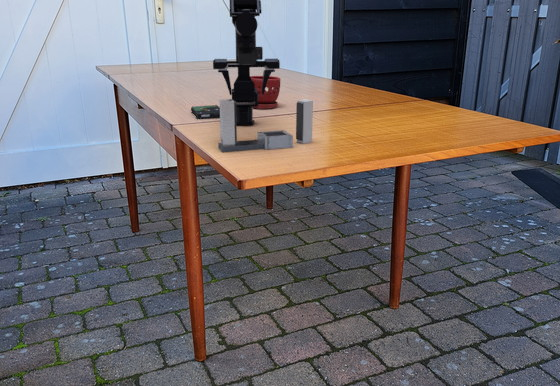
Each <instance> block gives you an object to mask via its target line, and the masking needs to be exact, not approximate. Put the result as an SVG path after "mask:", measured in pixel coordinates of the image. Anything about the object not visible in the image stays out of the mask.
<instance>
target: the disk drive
mask: <svg viewBox="0 0 560 386" xmlns="http://www.w3.org/2000/svg"><path fill="white" fill-rule="evenodd" d="M191 111H192V112H191ZM190 112H191V114H192V113H193V114H194V115H195V116H196V117H195V116H194V115H193V114H192V115H193V116H194V117H195V119H197V120H198V119H199V120H211V119H212V120H213V119H215V120H216V119H220V106H218V105H217V104H215V105H200V106H191V107H190Z"/></svg>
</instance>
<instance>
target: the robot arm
mask: <svg viewBox="0 0 560 386" xmlns="http://www.w3.org/2000/svg"><path fill="white" fill-rule="evenodd" d="M260 14H262V1H261V0H229V18H231V23H232V25H233V26H234V28H235V31H234V32H235V60H228V59H227V58H214V59H213V60H212V68H213V70H217V73H221V75H222V76H223V78H224V81H225V83H226V86H227V89H228V92H229V95H230V96H231V99H232V100H234V101H235V102H236V126H254V123H255V120H254V117H253V114H254V113H253V109H254V108H253V107H257V106H258V97H259V93H258V92H257V89H255V84H254V82H253V81H252V79H251V77H250V76H251V75H250V74H251V71H250V70H251V69H250V68H264V70H263V74H262V76H263V82H262V95H264V91H265V90H266V88H267V87H266V84H267V81H268V79H269V76H271V74H272V73H275V72H276V70H279V69H280V68H281V66H280V64H281V63H280V62H281V61H280V60H279V58H265V59H264V60H263V57H264V56H263V53H264V52H263V50H264V49H263V46H257V37H256V36H257V33H256V31H257V30H258V21H257V18H256V17H260ZM229 68H237V77H236V79H235V80H234V82H233V88H232V84H231V79H230V73H229V70H228V69H229ZM253 101H254V103H253Z"/></svg>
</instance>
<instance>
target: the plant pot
mask: <svg viewBox="0 0 560 386" xmlns="http://www.w3.org/2000/svg"><path fill="white" fill-rule="evenodd" d="M250 77H251V79H252V81H253V82H254V84H255V89H257V92H258V93H259V97H258V106H257V107H253V109H257V110H259V109H260V110H264V109H265V110H267V109H270V110H271V109H274V108H276V107H277V105H278V102H277V100H278V99H279V96H280V91H281V77H278V76H272V75H270V76H269V79H268V81H267V84H266V88H267V89H268V90H266V89H265V91H264V95H262V82H263V75H250ZM253 103H254V101H253Z"/></svg>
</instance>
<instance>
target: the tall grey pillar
mask: <svg viewBox="0 0 560 386" xmlns="http://www.w3.org/2000/svg"><path fill="white" fill-rule="evenodd" d="M313 110H314V100H312V99H308V98H305V99H304V98H303V99H299V100H297V102H296V112H295V113H296V117H295V118H296V120H295V124H296V125H295V126H296V127H295V140H296V143H299V144H303V145H304V144H310V143H313V117H314V116H313V115H314V114H313V113H314V111H313Z"/></svg>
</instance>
